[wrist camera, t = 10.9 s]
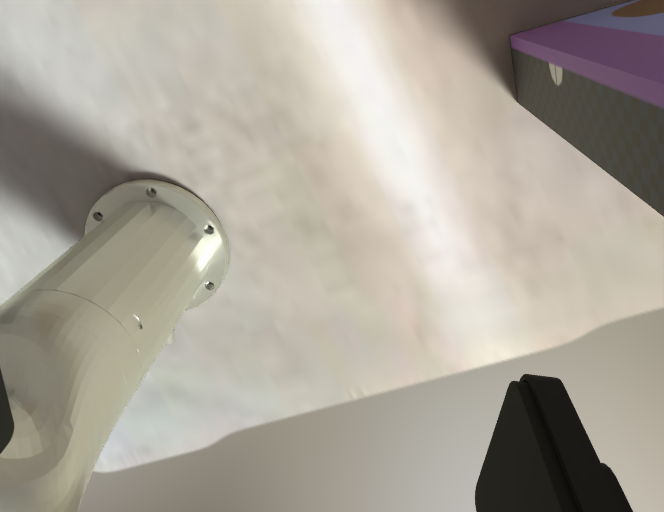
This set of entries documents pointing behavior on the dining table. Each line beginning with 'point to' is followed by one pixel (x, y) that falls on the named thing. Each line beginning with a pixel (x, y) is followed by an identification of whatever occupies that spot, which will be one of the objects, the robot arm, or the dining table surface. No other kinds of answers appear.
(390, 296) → the dining table surface
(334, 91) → the dining table surface
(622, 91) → the cereal box
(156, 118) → the dining table surface
